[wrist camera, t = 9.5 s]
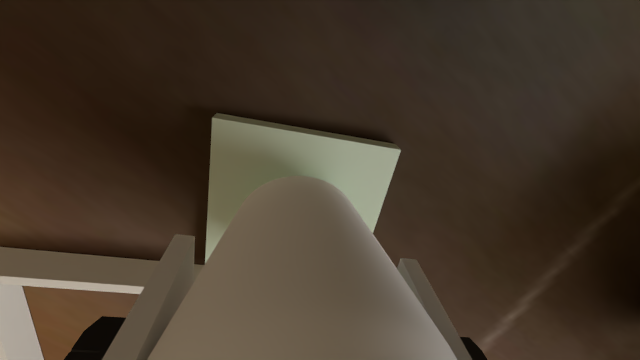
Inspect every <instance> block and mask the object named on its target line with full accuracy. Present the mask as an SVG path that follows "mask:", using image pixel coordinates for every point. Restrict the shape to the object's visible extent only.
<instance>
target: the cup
mask: <svg viewBox="0 0 640 360" xmlns="http://www.w3.org/2000/svg"><path fill="white" fill-rule="evenodd" d="M147 360H457V358H456V357H455V355H454V353H453V351H452V350H451V348H450V346H449V345H448V343H447V342H446V340H445V339H444V337H443V336H442V334H441V333H440V331H439V330H438V328H437V327H436V326H435V324H434V323H433V321H432V320H431V318H430V317H429V315H428V314H427V312H426V311H425V309H424V308H423V306H422V305H421V303H420V302H419V300H418V299H417V298H416V296H415V295H414V293H413V292H412V290H411V289H410V287H409V286H408V284H407V283H406V282H405V280H404V279H403V277H402V276H401V274H400V273H399V271H398V270H397V268H396V267H395V265H394V264H393V263H392V261H391V260H390V258H389V257H388V255H387V254H386V252H385V251H384V249H383V248H382V247H381V245H380V244H379V242H378V241H377V239H376V238H375V236H374V235H373V233H372V232H371V230H370V229H369V228H368V226H367V225H366V223H365V222H364V220H363V219H362V217H361V216H360V214H359V213H358V212H357V210H356V209H355V207H354V206H353V204H352V203H351V201H350V200H349V199H348V197H347V196H346V195H345V194H344V193H343V192H342V191H341V190H339V189H338V188H337V187H335V186H334V185H332V184H330V183H328V182H326V181H323V180H321V179H317V178H313V177H307V176H288V177H282V178H278V179H275V180H272V181H270V182H267V183H265V184H263V185H262V186H260V187H258V188H257V189H255V190H254V191H253V192H252V193H251V194H250V195H249V196H248V197H247V198H246V199H245V200H244V202H243V203H242V205H241V206H240V208H239V210H238V211H237V213H236V214H235V216H234V218H233V219H232V221H231V223H230V224H229V226H228V228H227V229H226V231H225V232H224V234H223V236H222V237H221V239H220V241H219V242H218V244H217V245H216V247H215V249H214V250H213V252H212V254H211V255H210V257H209V259H208V260H207V262H206V263H205V265H204V267H203V268H202V270H201V272H200V273H199V275H198V277H197V278H196V280H195V281H194V283H193V285H192V286H191V288H190V290H189V291H188V293H187V295H186V296H185V298H184V299H183V301H182V303H181V304H180V306H179V308H178V309H177V311H176V313H175V314H174V316H173V317H172V319H171V321H170V322H169V324H168V326H167V327H166V329H165V331H164V332H163V334H162V336H161V337H160V339H159V341H158V342H157V344H156V346H155V347H154V349H153V351H152V352H151V354H150V355H149V357H148V359H147Z"/></svg>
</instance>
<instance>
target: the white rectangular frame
mask: <svg viewBox="0 0 640 360" xmlns="http://www.w3.org/2000/svg"><path fill="white" fill-rule="evenodd" d="M158 263H159V261H153V260H142V259H130V258H119V257H108V256H97V255H86V254H75V253H64V252H52V251H41V250H30V249H19V248H8V247H0V360H44V358H43V355H42V352H41V348H40V345H39V342H38V338H37V335H36V332H35V328H34V325H33V321H32V318H31V315H30V311H29V308H28V305H27V301H26V298H25V295H24V291H23V288H22V286H36V287H50V288H64V289H78V290H92V291H106V292H120V293H134V294H141V292H142V290H143V289H144V287H145V285H146V283H147V282H148V280H149V278H150V277H151V275H152V273H153V271H154V270H155V268H156V266H157V265H158ZM203 267H204V265H197V264H194V281H195V280H196V278H197V277H198V275H199V273H200V272H201V270H202V268H203Z"/></svg>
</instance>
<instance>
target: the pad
mask: <svg viewBox="0 0 640 360" xmlns="http://www.w3.org/2000/svg"><path fill="white" fill-rule="evenodd" d="M400 151H401V149H400V148H399V147H398V146H397V145H396V144H393V143H387V142H381V141H375V140H370V139H364V138H358V137H352V136H347V135H341V134H335V133H329V132H324V131H318V130H312V129H307V128H301V127H295V126H289V125H284V124H278V123H272V122H266V121H261V120H255V119H249V118H243V117H238V116H232V115H226V114H220V113H216V114H215V115H214V116H213V117H212V132H211V152H210V172H209V193H208V213H207V233H206V254H205V263H206V262H207V260H208V259H209V257H210V255H211V254H212V252H213V250H214V249H215V247H216V245H217V244H218V242H219V241H220V239H221V237H222V236H223V234H224V232H225V231H226V229H227V228H228V226H229V224H230V223H231V221H232V219H233V218H234V216H235V214H236V213H237V211H238V210H239V208H240V206H241V205H242V203H243V202H244V200H245V199H246V198H247V197H248V196H249V195H250V194H251V193H252V192H253V191H254V190H255V189H257V188H258V187H260V186H262V185H263V184H265V183H267V182H270V181H272V180H275V179H278V178H282V177H288V176H307V177H313V178H317V179H321V180H323V181H326V182H328V183H330V184H332V185H334V186H335V187H337V188H338V189H339V190H341V191H342V192H343V193H344V194H345V195H346V196H347V197H348V199H349V200H350V201H351V203H352V204H353V206H354V207H355V209H356V210H357V212H358V213H359V214H360V216H361V217H362V219H363V220H364V222H365V223H366V225H367V226H368V228H369V229H370V230H371V232H372V233H373V231H374V228H375V225H376V222H377V219H378V216H379V213H380V210H381V207H382V204H383V201H384V199H385V196H386V193H387V190H388V187H389V184H390V181H391V178H392V175H393V172H394V169H395V166H396V163H397V160H398V157H399V154H400Z"/></svg>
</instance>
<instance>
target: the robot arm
mask: <svg viewBox="0 0 640 360" xmlns="http://www.w3.org/2000/svg"><path fill="white" fill-rule="evenodd" d="M194 254H195V236H189V235H179V234H175V236H174V237H173V239H172V241H171V242H170V244H169V246H168V248H167V249H166V251H165V253H164V254H163V256H162V258H161V259H160V261H159V263H158V265H157V266H156V268H155V270H154V271H153V273H152V275H151V277H150V278H149V280H148V282H147V283H146V285H145V287H144V289H143V290H142V292H141V294H140V295H139V297H138V299H137V300H136V302H135V304H134V306H133V307H132V309H131V311H130V312H129V314H128V316H127V318H121V317H104V316H102V317H101V318H100V319H98V320H97V321H96V322H95V323H93V324H92V325H91V326H90V327H88V328H87V329H86V330H85V331H84V332H83V333H82V335H81V336H80V338H79V339H78V341H77V342H76V343H75V345H74V346H73V348H72V350H71V352H69V353H68V355H67V356H66V358H65V359H64V360H147V359H148V357H149V355H150V354H151V352H152V351H153V349H154V347H155V346H156V344H157V342H158V341H159V339H160V337H161V336H162V334H163V332H164V331H165V329H166V327H167V326H168V324H169V322H170V321H171V319H172V317H173V316H174V314H175V313H176V311H177V309H178V308H179V306H180V304H181V303H182V301H183V299H184V298H185V296H186V295H187V293H188V291H189V290H190V288H191V286H192V285H193V283H194ZM397 270H398V271H399V273H400V274H401V276H402V277H403V279H404V280H405V282H406V283H407V284H408V286H409V287H410V289H411V290H412V292H413V293H414V295H415V296H416V298H417V299H418V300H419V302H420V303H421V305H422V306H423V308H424V309H425V311H426V312H427V314H428V315H429V317H430V318H431V320H432V321H433V323H434V324H435V326H436V327H437V328H438V330H439V331H440V333H441V334H442V336H443V337H444V339H445V340H446V342H447V343H448V345H449V346H450V348H451V350H452V351H453V353H454V355H455V357H456V358H457V360H487V358H486V357H485V355H484V353H483V352H482V350H481V349H480V348H479V347H478V346H477V345H476V344H475V343H474V342H473V341H472V340H471V339H470V338H468V337H459V335H458V333H457V331H456V330H455V328H454V326H453V324H452V323H451V321H450V319H449V317H448V315H447V314H446V312H445V310H444V308H443V306H442V305H441V303H440V301H439V299H438V297H437V296H436V294H435V292H434V290H433V289H432V287H431V285H430V283H429V281H428V280H427V278H426V276H425V274H424V272H423V271H422V269H421V267H420V265H419V264H418V262H417V260H415V259H406V258H401V259H400V262H399V264H398V267H397Z"/></svg>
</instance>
